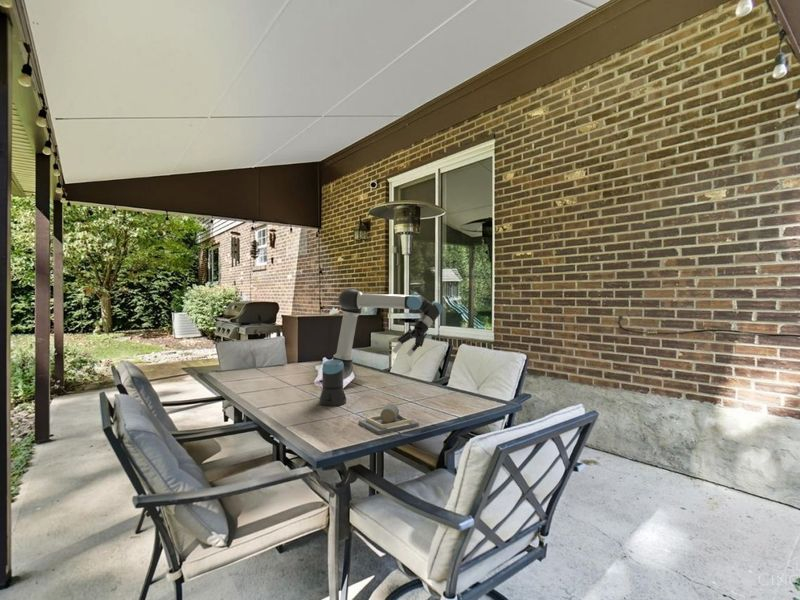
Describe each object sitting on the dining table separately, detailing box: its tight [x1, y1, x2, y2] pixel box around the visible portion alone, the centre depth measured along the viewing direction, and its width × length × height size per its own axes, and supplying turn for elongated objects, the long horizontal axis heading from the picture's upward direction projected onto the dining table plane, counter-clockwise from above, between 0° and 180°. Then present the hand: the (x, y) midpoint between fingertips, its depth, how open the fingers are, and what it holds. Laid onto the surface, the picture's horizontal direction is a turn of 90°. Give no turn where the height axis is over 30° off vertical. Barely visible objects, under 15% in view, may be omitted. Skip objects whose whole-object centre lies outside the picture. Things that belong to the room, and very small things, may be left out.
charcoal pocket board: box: [358, 414, 420, 435], centre depth 200 cm, size 18×22×3 cm
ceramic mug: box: [380, 403, 404, 423], centre depth 199 cm, size 11×8×8 cm
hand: (401, 353), depth 229 cm, fingers open, 13 cm apart
